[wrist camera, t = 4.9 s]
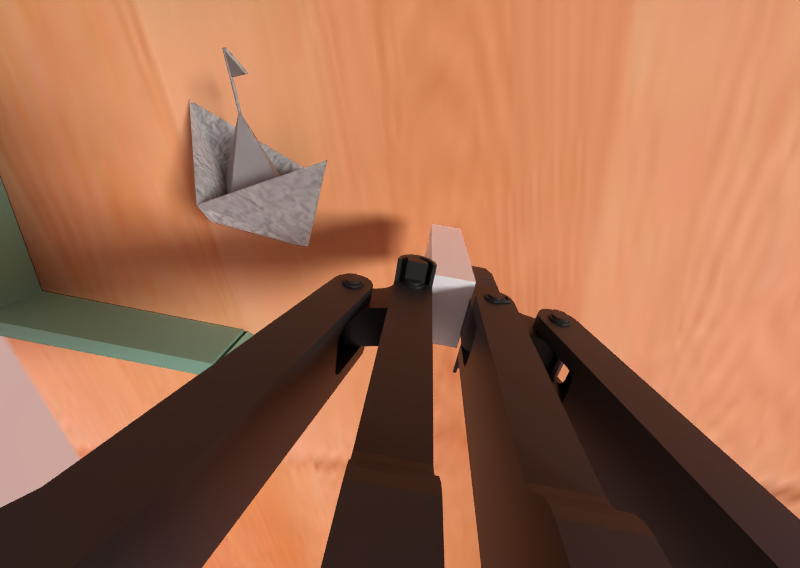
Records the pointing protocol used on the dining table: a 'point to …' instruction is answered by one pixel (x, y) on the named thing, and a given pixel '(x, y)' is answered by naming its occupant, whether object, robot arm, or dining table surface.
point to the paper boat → (250, 177)
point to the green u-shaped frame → (98, 317)
